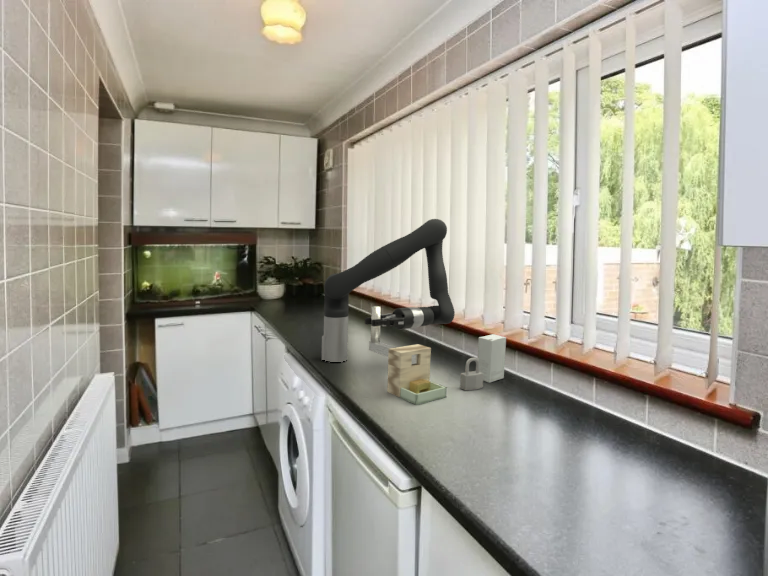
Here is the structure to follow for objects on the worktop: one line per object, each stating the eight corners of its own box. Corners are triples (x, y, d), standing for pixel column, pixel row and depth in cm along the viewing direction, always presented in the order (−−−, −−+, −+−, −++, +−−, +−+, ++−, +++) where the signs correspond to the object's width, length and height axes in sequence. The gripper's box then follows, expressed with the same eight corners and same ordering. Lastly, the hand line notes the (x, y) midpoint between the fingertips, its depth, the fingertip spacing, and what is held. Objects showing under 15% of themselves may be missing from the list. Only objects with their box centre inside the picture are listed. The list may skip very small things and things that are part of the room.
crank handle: (368, 350, 153) (369, 306, 152) (376, 348, 155) (377, 305, 154) (409, 364, 136) (411, 316, 135) (417, 363, 138) (419, 315, 137)
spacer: (409, 393, 135) (409, 381, 135) (422, 390, 138) (422, 378, 138) (417, 397, 132) (417, 384, 132) (430, 393, 136) (430, 381, 135)
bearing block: (387, 391, 138) (388, 348, 137) (416, 384, 146) (418, 344, 144) (399, 397, 134) (401, 352, 132) (429, 390, 141) (430, 347, 140)
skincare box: (490, 374, 160) (492, 333, 158) (504, 379, 155) (507, 336, 154) (475, 378, 154) (477, 336, 153) (489, 383, 150) (492, 339, 148)
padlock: (476, 384, 148) (477, 355, 147) (484, 388, 144) (485, 358, 143) (458, 387, 144) (460, 357, 143) (466, 391, 141) (468, 360, 140)
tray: (400, 397, 133) (400, 387, 133) (429, 390, 141) (430, 381, 140) (416, 405, 128) (416, 394, 127) (446, 397, 135) (446, 387, 135)
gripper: (395, 305, 166) (357, 308, 155) (421, 310, 155) (381, 314, 144) (395, 325, 166) (356, 329, 156) (420, 331, 155) (381, 337, 145)
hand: (368, 322), depth 150 cm, fingers closed on crank handle, 3 cm apart
